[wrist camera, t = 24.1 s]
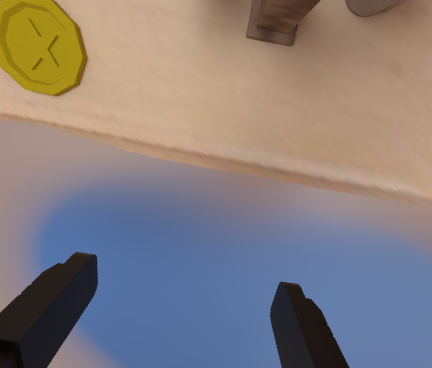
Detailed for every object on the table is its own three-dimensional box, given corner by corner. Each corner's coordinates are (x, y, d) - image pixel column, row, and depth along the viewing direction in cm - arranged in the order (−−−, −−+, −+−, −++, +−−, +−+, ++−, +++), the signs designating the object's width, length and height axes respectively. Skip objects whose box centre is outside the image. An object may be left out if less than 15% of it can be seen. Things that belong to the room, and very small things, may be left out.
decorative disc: (-21, 24, 42) (-32, 20, 40) (52, -23, 39) (44, -29, 37) (36, 108, 47) (29, 108, 45) (104, 71, 44) (99, 69, 43)
